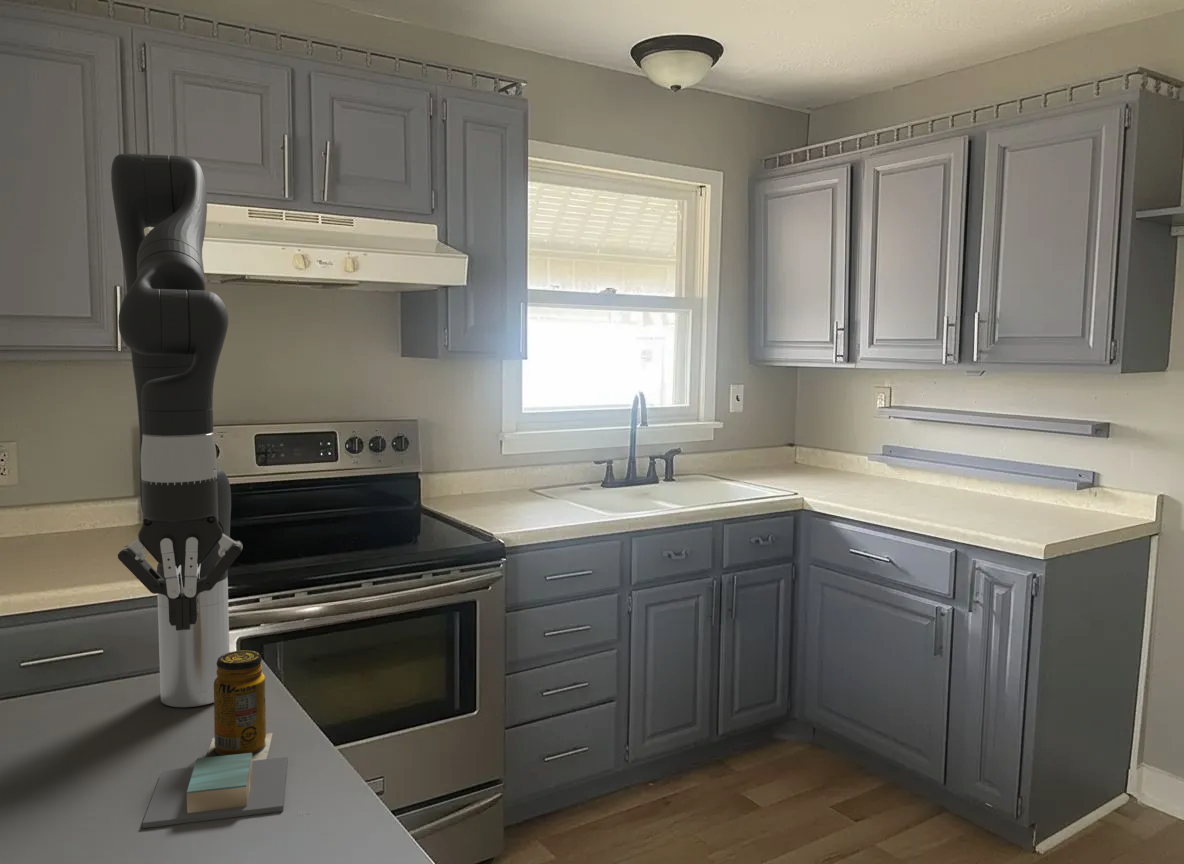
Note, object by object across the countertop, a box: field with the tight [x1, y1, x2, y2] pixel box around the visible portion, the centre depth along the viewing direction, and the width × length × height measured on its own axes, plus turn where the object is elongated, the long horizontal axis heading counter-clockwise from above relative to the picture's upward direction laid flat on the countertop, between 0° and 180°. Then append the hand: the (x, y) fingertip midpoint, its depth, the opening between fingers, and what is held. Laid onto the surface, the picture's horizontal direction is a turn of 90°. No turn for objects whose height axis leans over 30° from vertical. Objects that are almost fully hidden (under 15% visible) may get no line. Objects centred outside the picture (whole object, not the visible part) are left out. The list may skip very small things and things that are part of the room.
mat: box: [142, 756, 289, 829], centre depth 102 cm, size 12×14×1 cm
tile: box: [187, 753, 253, 813], centre depth 101 cm, size 2×6×8 cm
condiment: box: [204, 649, 273, 761], centre depth 112 cm, size 7×8×12 cm
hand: (184, 627), depth 100 cm, fingers closed
